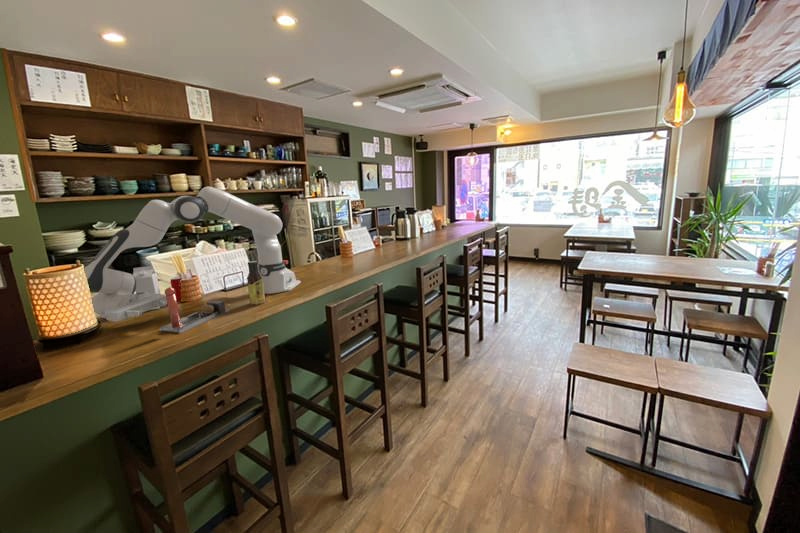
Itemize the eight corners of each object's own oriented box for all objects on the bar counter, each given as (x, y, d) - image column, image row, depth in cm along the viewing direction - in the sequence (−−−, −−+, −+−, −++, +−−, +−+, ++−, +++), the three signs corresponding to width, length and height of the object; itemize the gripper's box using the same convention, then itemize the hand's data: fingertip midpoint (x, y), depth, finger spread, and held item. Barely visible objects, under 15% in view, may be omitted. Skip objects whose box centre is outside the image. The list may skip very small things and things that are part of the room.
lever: (179, 323, 133) (171, 284, 130) (194, 324, 131) (186, 284, 128) (162, 330, 127) (153, 289, 123) (177, 332, 125) (168, 290, 121)
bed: (212, 310, 150) (210, 299, 149) (231, 312, 147) (229, 300, 146) (160, 334, 128) (157, 320, 127) (181, 336, 125) (178, 322, 124)
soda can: (183, 303, 162) (178, 278, 159) (172, 303, 162) (166, 278, 159) (190, 299, 167) (186, 275, 164) (179, 299, 167) (174, 275, 165)
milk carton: (144, 306, 159) (135, 266, 155) (163, 304, 162) (154, 264, 157) (140, 311, 153) (130, 269, 148) (159, 309, 155) (150, 267, 151)
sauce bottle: (260, 308, 150) (253, 263, 146) (247, 308, 151) (240, 263, 147) (268, 303, 156) (262, 260, 152) (256, 302, 158) (250, 260, 153)
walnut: (209, 312, 145) (207, 303, 144) (217, 312, 143) (215, 303, 143) (201, 315, 141) (199, 306, 140) (209, 316, 140) (207, 307, 139)
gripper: (94, 308, 124) (121, 310, 120) (149, 290, 143) (175, 292, 139) (98, 324, 126) (126, 327, 122) (152, 305, 145) (178, 307, 140)
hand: (152, 308), depth 130 cm, fingers open, 8 cm apart
